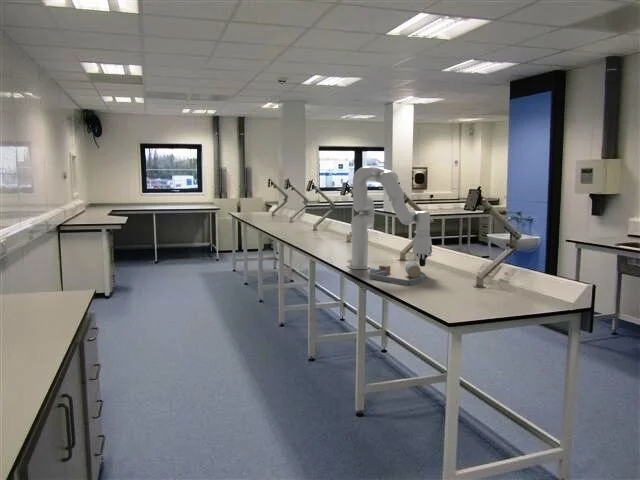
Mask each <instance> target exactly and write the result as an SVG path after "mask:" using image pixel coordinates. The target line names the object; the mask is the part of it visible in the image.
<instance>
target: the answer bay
mask: <svg viewBox="0 0 640 480" xmlns="http://www.w3.org/2000/svg"><path fill="white" fill-rule="evenodd" d="M385 275H386V276H385ZM369 277H370V280H374V279H376V280H375V281H380V280H382V282H385V281H388V282H387V283H391V282H393V283H392V284H396V283H398V284H397V285H402V284H403V286H412V285H413V286H414V285H416V284H420V283H423V282H424V277H421V276H418V277H417V278H411V279H402V278H397V277H393V276H387V274H386V271H381V272H376V273H372V274H370V273H369Z"/></svg>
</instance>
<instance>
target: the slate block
mask: <svg viewBox="0 0 640 480" xmlns="http://www.w3.org/2000/svg"><path fill="white" fill-rule="evenodd" d="M376 272H380V269H379V267H378V268H377V267H372V268H371V267H370V268H369V275H370V274H372V273H376Z"/></svg>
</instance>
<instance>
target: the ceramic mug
mask: <svg viewBox="0 0 640 480" xmlns="http://www.w3.org/2000/svg"><path fill="white" fill-rule="evenodd" d="M405 272H406V274H407V276H409V277H410V278H411V279H414V278H418V277H423V279H425V278H426V276H427V274H425V273H424V272H423V271H422V270H421V266H420V264H418V263H417V262H416V261H415V262H414V261H411V262H408V263H407V264H406V266H405Z"/></svg>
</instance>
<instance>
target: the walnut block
mask: <svg viewBox="0 0 640 480" xmlns="http://www.w3.org/2000/svg"><path fill="white" fill-rule="evenodd" d="M378 268H379V269H380V272H381V271H386V275H390V274H391V265H388V264H382V265H379V266H378Z"/></svg>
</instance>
